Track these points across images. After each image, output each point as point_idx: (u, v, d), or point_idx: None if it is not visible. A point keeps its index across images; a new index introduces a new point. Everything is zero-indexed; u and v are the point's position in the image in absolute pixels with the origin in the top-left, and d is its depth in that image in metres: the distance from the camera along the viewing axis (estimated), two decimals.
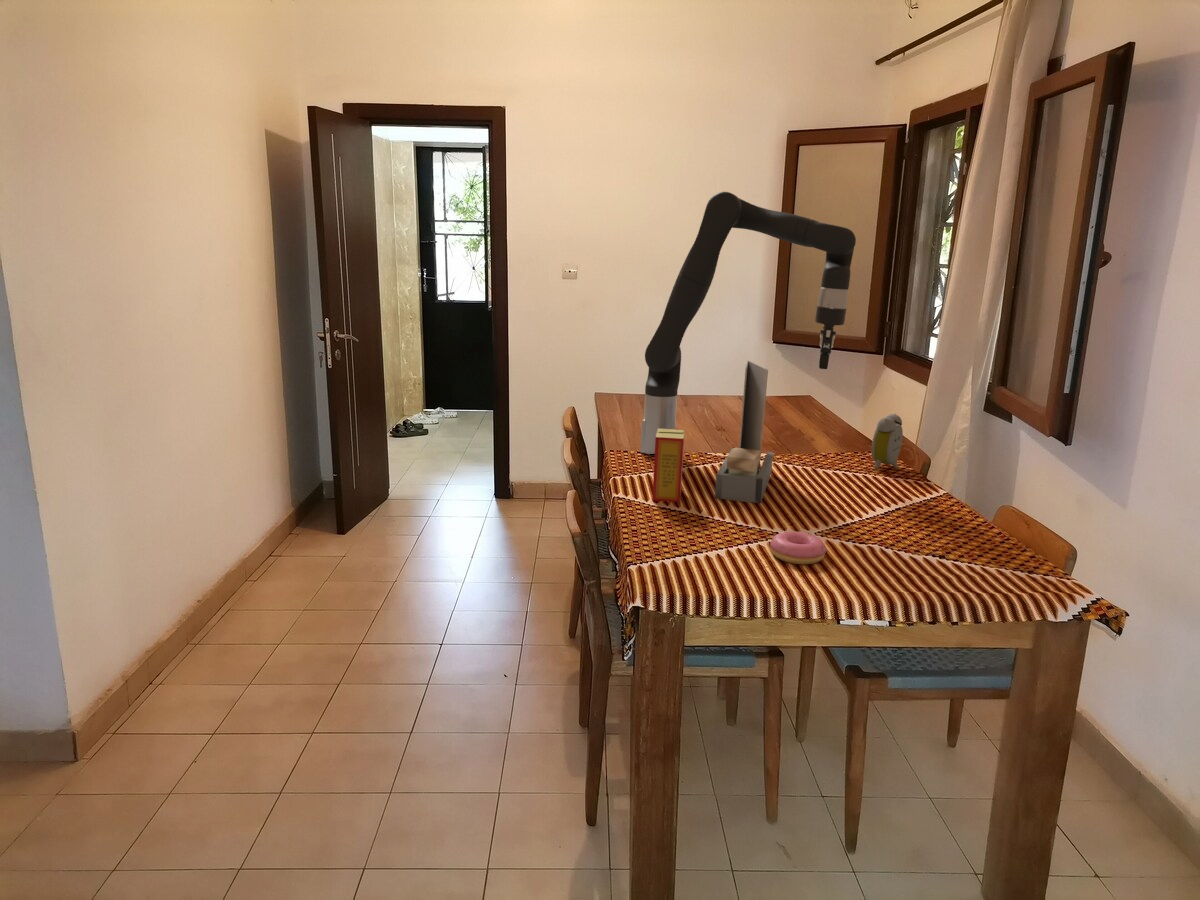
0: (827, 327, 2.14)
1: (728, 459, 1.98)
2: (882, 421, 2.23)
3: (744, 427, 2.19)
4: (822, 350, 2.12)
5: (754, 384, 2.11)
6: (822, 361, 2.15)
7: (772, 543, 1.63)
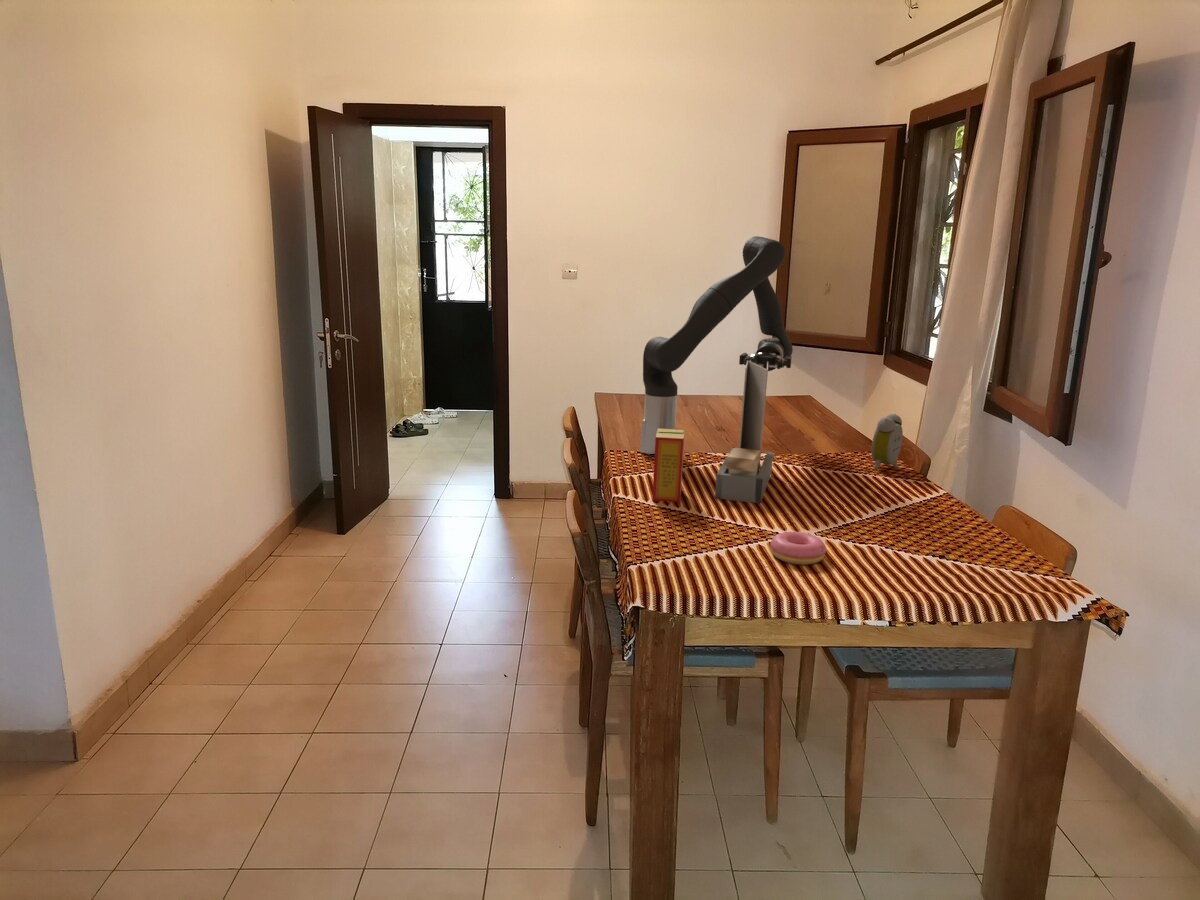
0: None
1: (728, 459, 1.98)
2: (882, 421, 2.23)
3: (744, 427, 2.19)
4: None
5: (754, 384, 2.11)
6: (783, 362, 2.24)
7: (772, 543, 1.63)
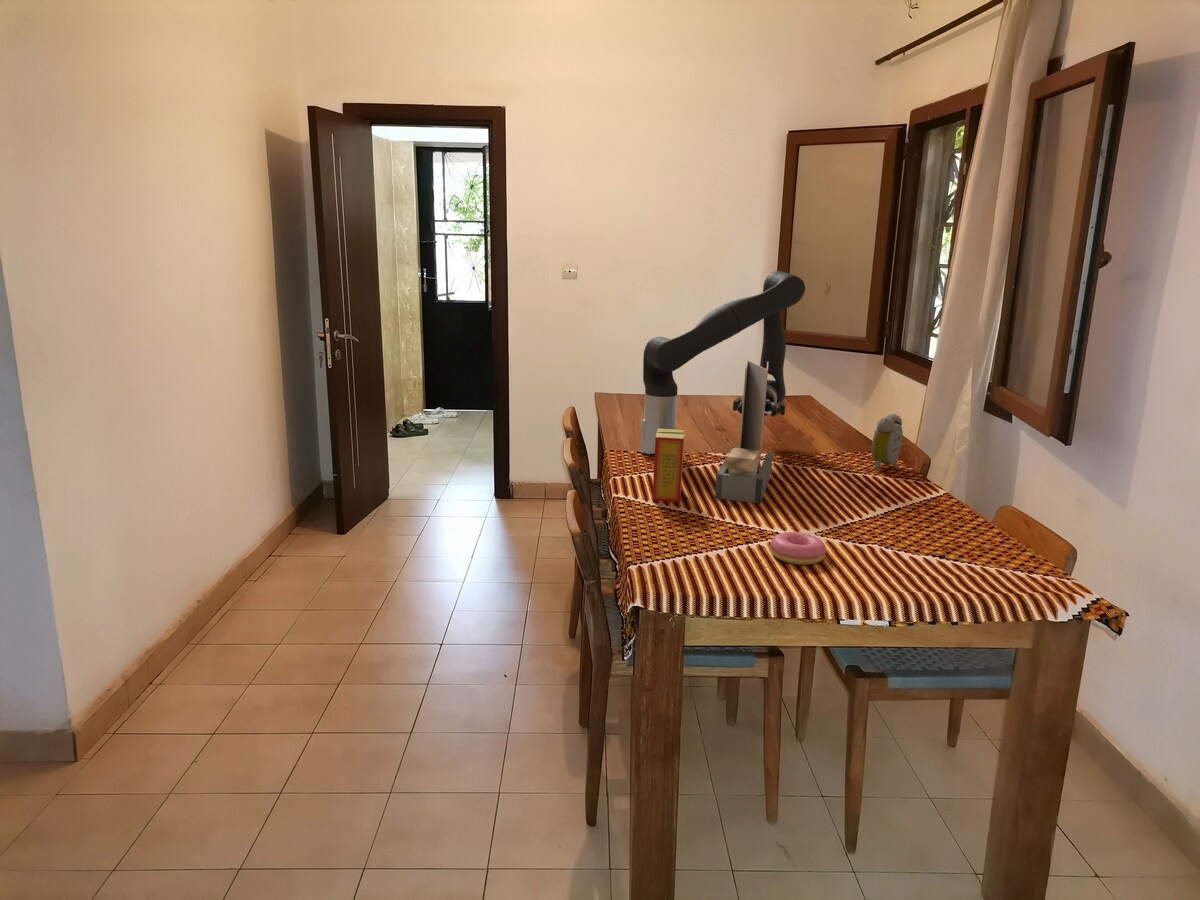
0: None
1: (728, 459, 1.98)
2: (882, 421, 2.23)
3: (744, 427, 2.19)
4: None
5: (754, 384, 2.11)
6: (777, 410, 2.21)
7: (772, 544, 1.63)
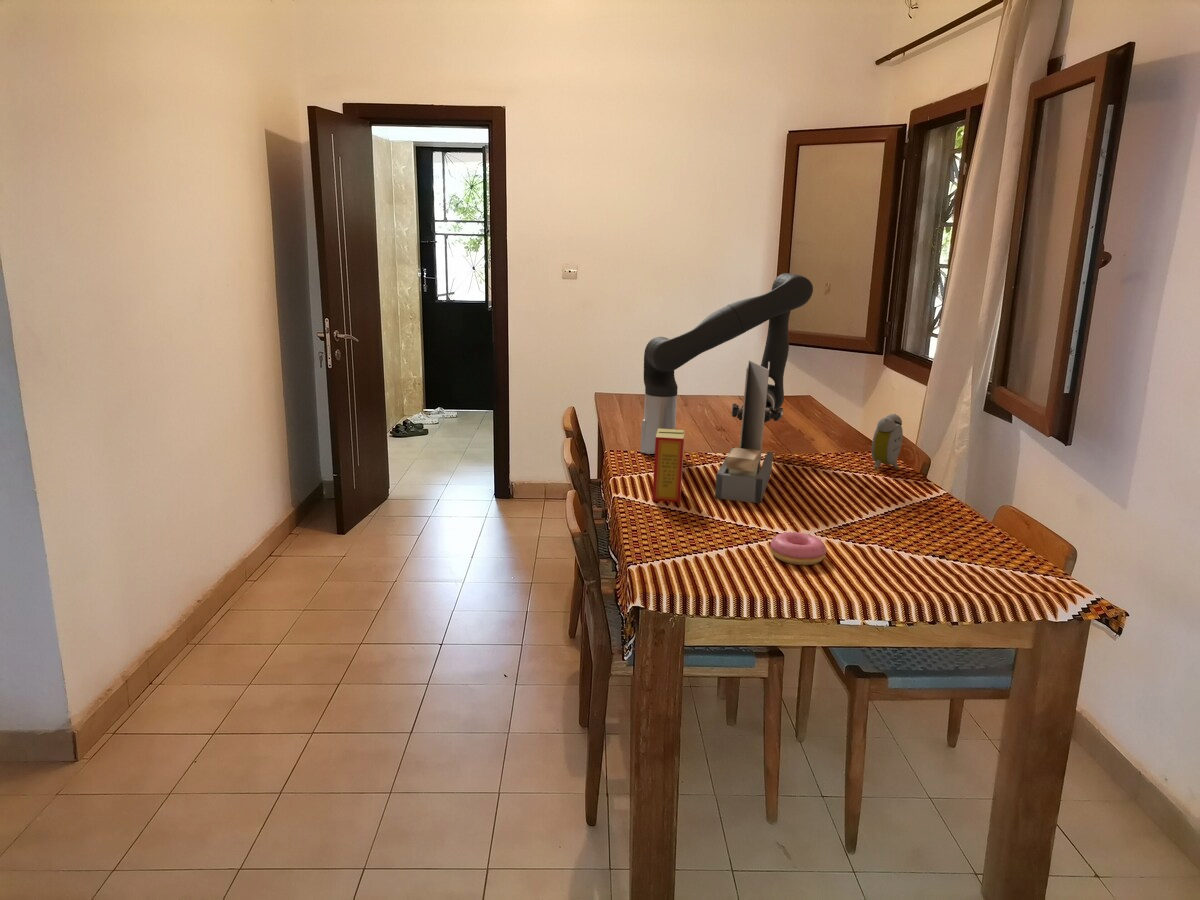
0: None
1: (728, 459, 1.98)
2: (882, 421, 2.23)
3: (745, 427, 2.18)
4: (778, 412, 2.16)
5: (755, 384, 2.11)
6: (770, 416, 2.14)
7: (772, 544, 1.62)
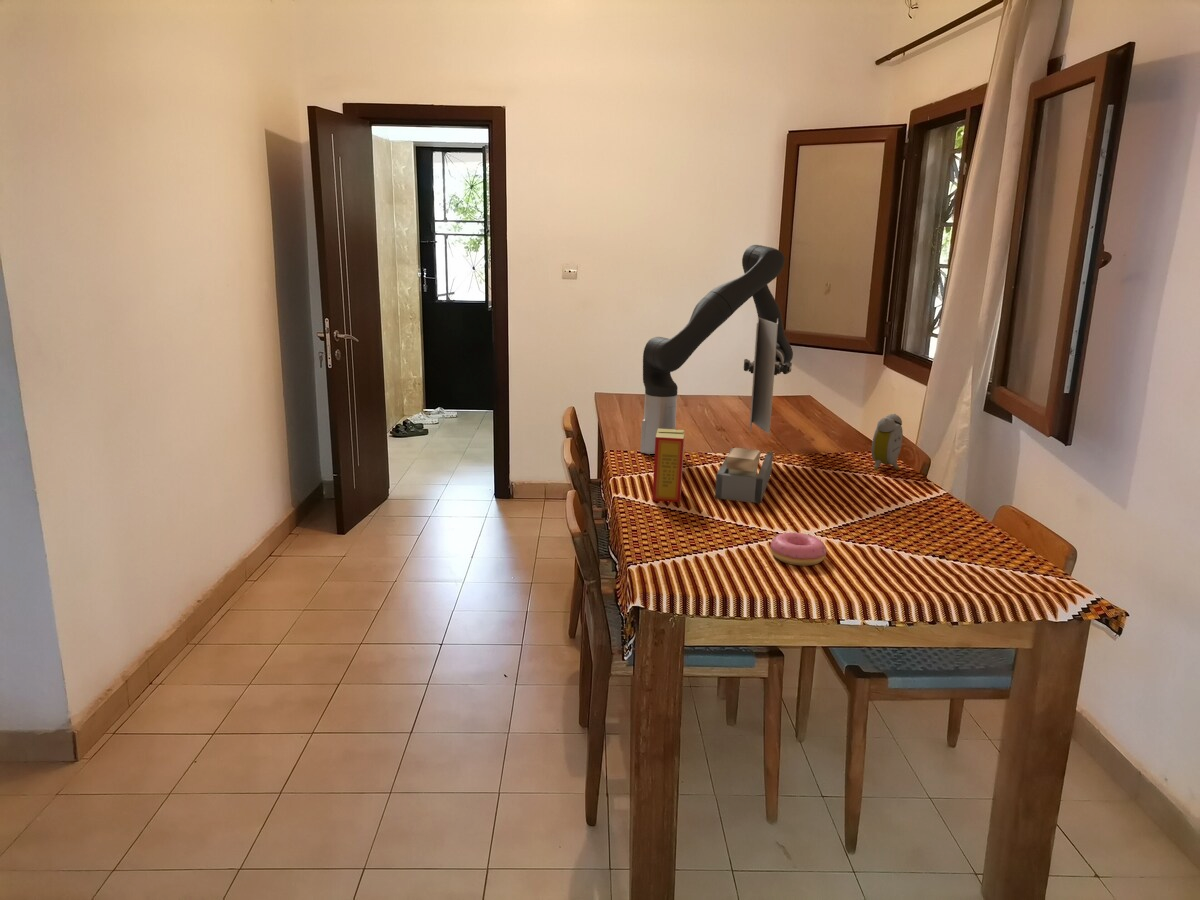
0: None
1: (728, 459, 1.98)
2: (882, 421, 2.23)
3: (756, 381, 2.33)
4: (787, 366, 2.30)
5: (765, 339, 2.25)
6: (780, 369, 2.28)
7: (772, 544, 1.62)
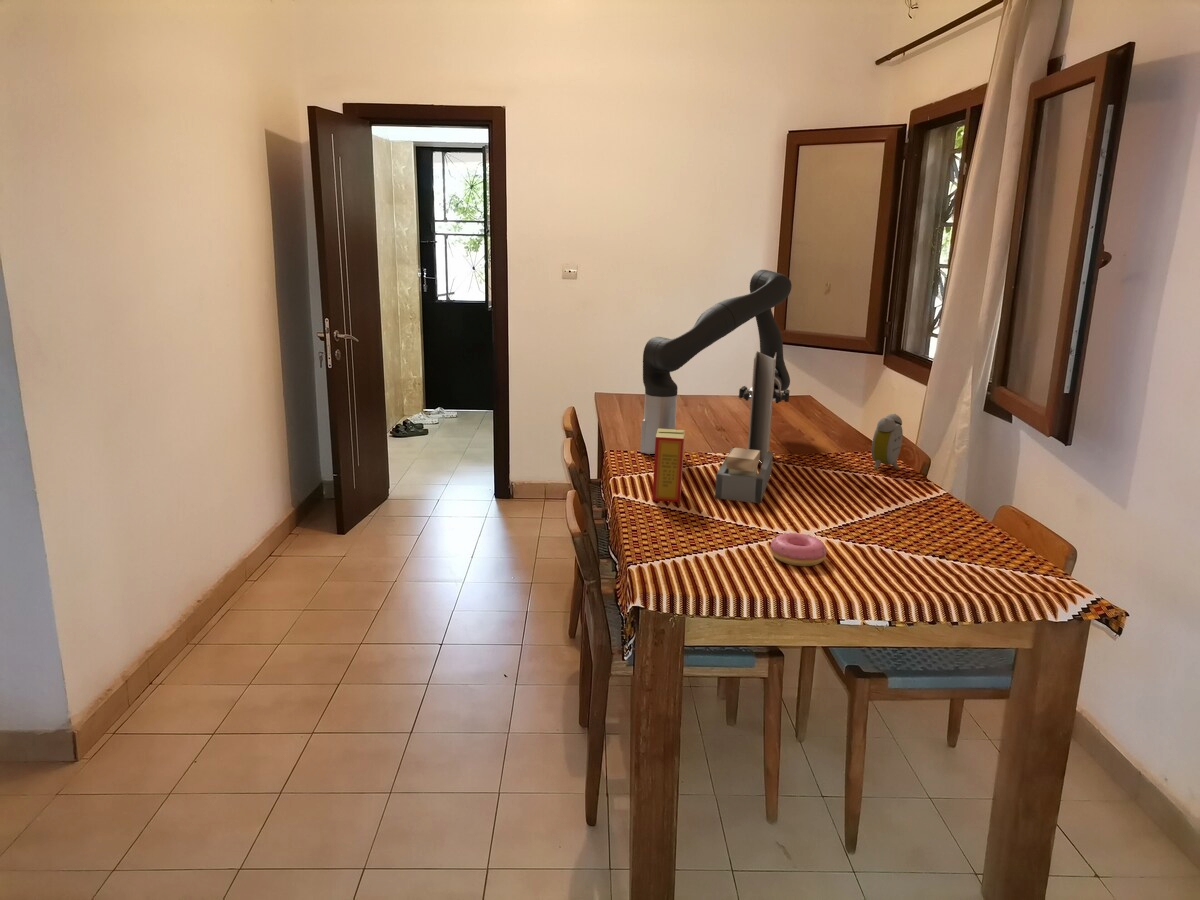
0: None
1: (728, 459, 1.98)
2: (882, 421, 2.23)
3: (754, 413, 2.36)
4: None
5: (763, 373, 2.29)
6: (781, 397, 2.32)
7: (772, 545, 1.62)
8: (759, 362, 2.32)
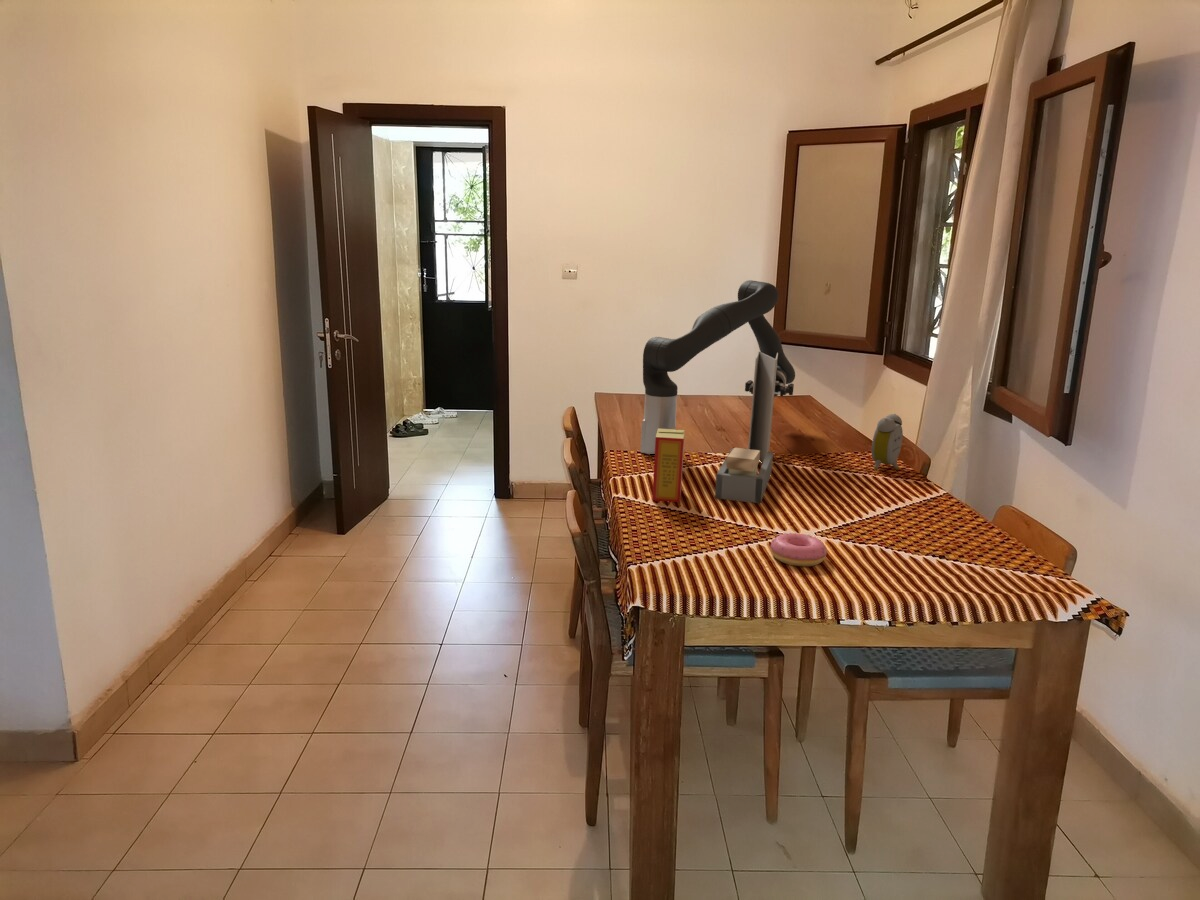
0: None
1: (728, 459, 1.98)
2: (882, 421, 2.23)
3: (755, 413, 2.36)
4: None
5: (764, 373, 2.28)
6: (785, 390, 2.42)
7: (772, 545, 1.62)
8: (760, 362, 2.32)
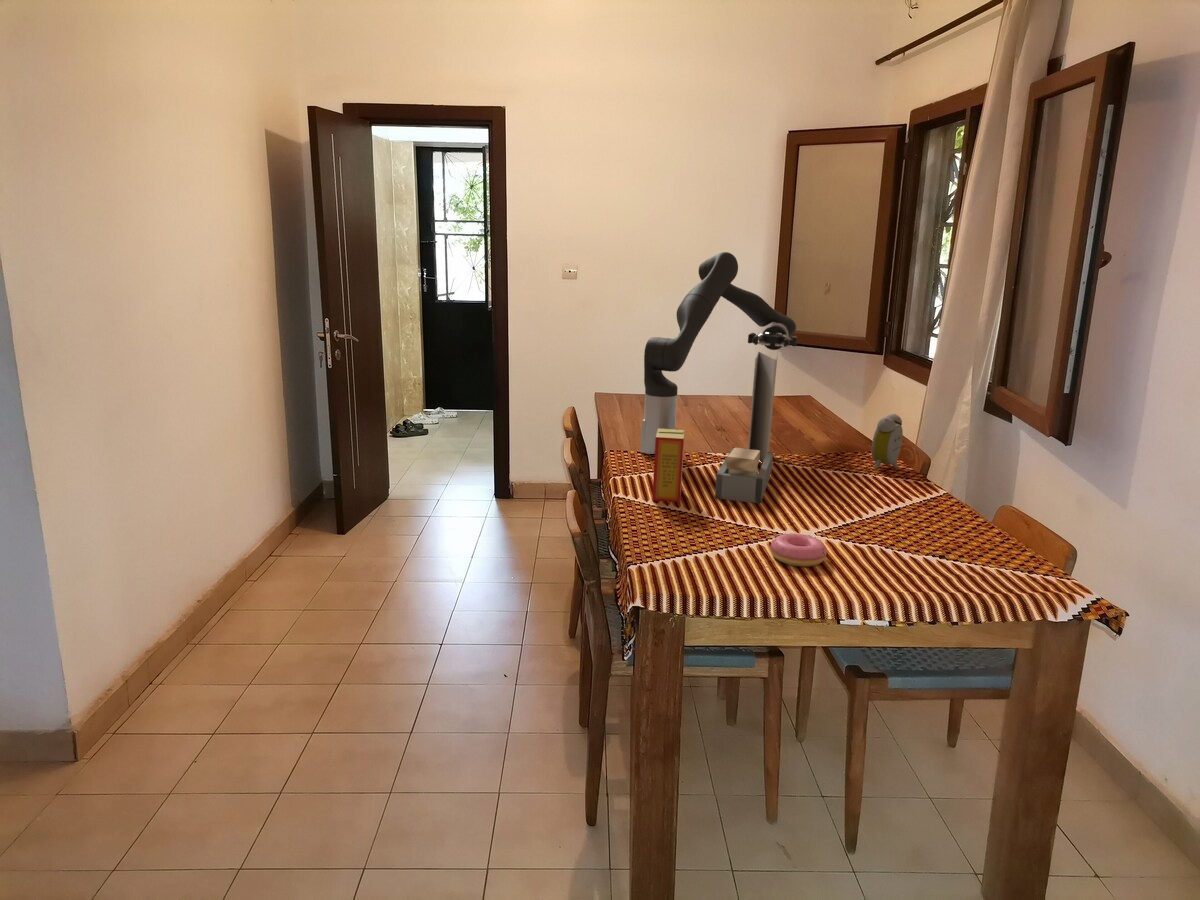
0: None
1: (728, 459, 1.98)
2: (882, 421, 2.23)
3: (755, 413, 2.36)
4: (796, 339, 2.42)
5: (764, 373, 2.28)
6: (789, 341, 2.40)
7: (772, 545, 1.62)
8: (760, 362, 2.32)
